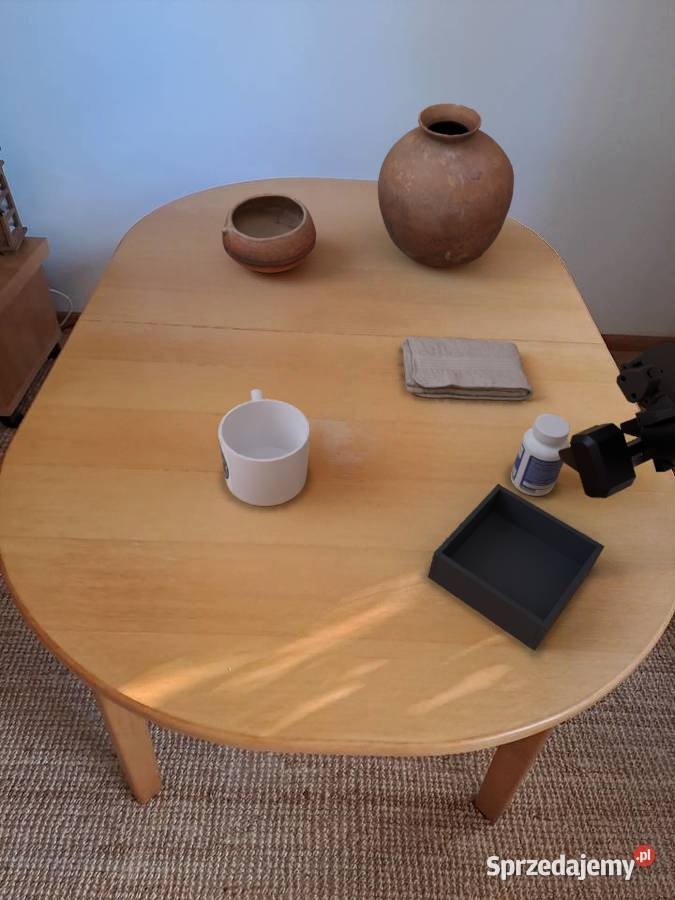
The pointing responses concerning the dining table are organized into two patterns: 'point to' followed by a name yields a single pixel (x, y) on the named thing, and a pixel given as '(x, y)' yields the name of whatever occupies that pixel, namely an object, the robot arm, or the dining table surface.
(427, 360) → the washcloth
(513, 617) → the black square tray
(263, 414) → the mug
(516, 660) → the dining table surface
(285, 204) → the bowl
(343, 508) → the dining table surface
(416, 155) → the pottery
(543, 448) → the pill bottle
